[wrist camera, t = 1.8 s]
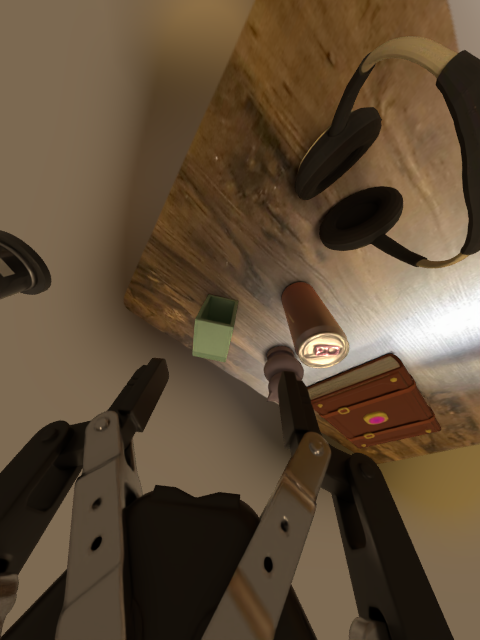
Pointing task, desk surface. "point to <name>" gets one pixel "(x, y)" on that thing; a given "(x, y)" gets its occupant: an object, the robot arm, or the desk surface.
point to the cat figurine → (280, 368)
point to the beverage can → (313, 327)
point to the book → (374, 403)
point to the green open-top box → (214, 328)
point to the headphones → (362, 130)
